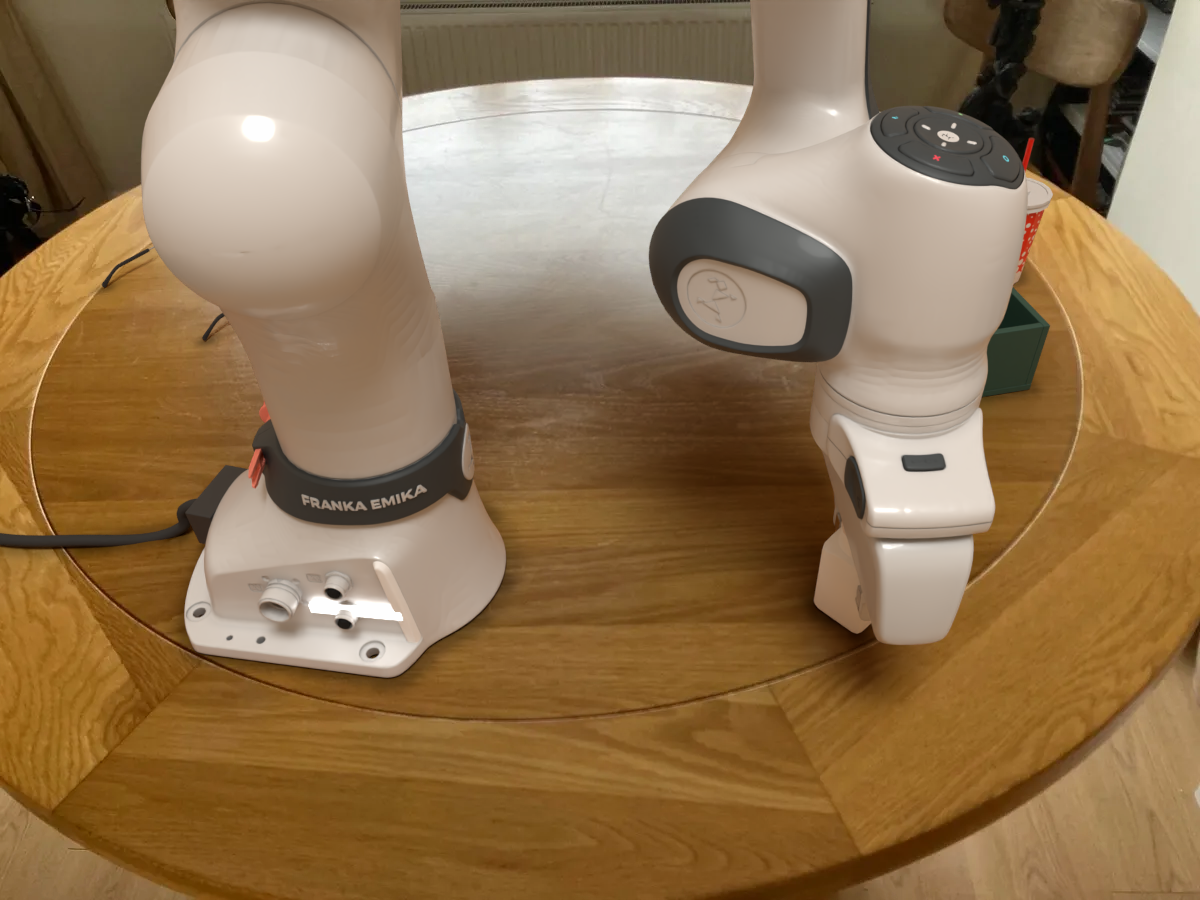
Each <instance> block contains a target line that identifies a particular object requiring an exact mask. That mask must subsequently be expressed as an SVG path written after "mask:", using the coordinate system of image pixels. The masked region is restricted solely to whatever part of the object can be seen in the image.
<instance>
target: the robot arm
mask: <svg viewBox="0 0 1200 900" xmlns="http://www.w3.org/2000/svg"><path fill="white" fill-rule="evenodd" d="M172 3H173V8H174V15H175V25H176V26H175V27H176V28H175V29H176V32H175V34H176V35H175V47H174V58H173V62H172V66H171V68H170V70H169V72H168V74H167V76H166V78H165V80H164V82H163V84H162V85H161V88H160V90H159V92H158V94H157V96H156V97H155V100H153V101H154V102H153V103H152V105H151V107H150V109H149V111H148V115H147V117H146V120H145V123H144V127H143V132H142V137H141V138H142V139H141V153H140V154H141V155H140V185H141V187H140V188H141V201H142V214H143V221H144V224H145V228H146V231H147V233H148V237H149V240H150V242H151V244H152V247H154V248H153V249H154V250H155V252H156V253H157V255H158V256H159V258H160V259H161V261H162V262H163V264H164V265H165V266H166V268H168V270H170V272H171V273H172V275H173V276H174V277H176V279H178V281H179V282H181V283H182V284H183V285H184V286H185V287H186V288H188V289H189V290H190V291H191V292H193V293H194V294H195V295H197V296H198V297H200V298H202V299H203V300H205V301H207V302H209V303H210V304H213V305H214V306H216V307H218V308H219V310H220V311H221V313H223V314H224V315H225V316H224V317H225V319H226V320H227V322H228V323H229V325H230V326H231V328H232V329H233V331H234V333H235V334H236V336H237V338H238V340H239V341H240V343H241V345H242V347H243V349H244V351H245V354H246V356H247V359H248V361H249V363H250V366H251V369H252V372H253V375H254V378H255V380H256V382H257V385H258V388H259V391H260V394H261V396H262V399H263V404H262V406H261V407H260V408H259V411H258V416H259V418H260V420H261V421H262V422H263V424H262V425H261V426H260V427H259V428H258V429H257V430H256V433H255V436H254V437H253V441H252V445H251V446H252V449H253V454H252V457H251V460H250V462H249V466H248V468H245V467H240V466H234V465H228V464H225V465H223V467H222V468H221V470H220V471H218V473H217V474H216V476H215V477H213V479H212V480H211V481H210V483H209V484H208V485H207V486H206V487H205V488H204V489H203V491H202V492H201V493H200V494H199V496H198V497H196V498H192V499H191V498H190V499H188V500H186V501H184V502H182V503H181V504H180V505H178V507H177V510H176V518H177V522H176V523H175V524H173V525H171V526H169V527H167V528H163V529H160V530H156V531H152V532H151V531H150V532H143V533H131V534H56V535H55V534H48V535H47V534H45V535H44V534H39V535H37V534H35V535H34V534H14V533H13V534H12V533H5V532H4V533H3V532H0V546H5V547H19V548H65V547H66V548H67V547H69V548H71V547H121V546H122V547H123V546H131V545H136V544H142V543H146V542H147V543H148V542H155V541H164V540H168V539H173V538H177V537H179V536H180V535H182V534H184V533H186V532H187V531H189V529H190V528H191V529H192V531H193V533H194V535H195V537H196V539H197V541H198V543H200V544H201V545H202V544H203V545H205V546H204V548H203V549H202V551H201V553H200V556H199V558H198V560H197V562H196V564H195V566H194V569H193V572H192V574H191V577H190V581H189V583H188V584H189V585H188V588H187V591H186V597H185V601H184V603H185V604H184V610H183V612H184V613H183V614H184V616H183V617H184V626H185V631H186V633H187V637H188V639H189V642H190V645H191V647H192V649H193V651H195V652H196V653H199V654H203V655H210V656H216V657H224V658H231V659H232V658H233V659H239V660H246V661H254V662H263V663H269V664H277V665H284V666H292V667H299V668H307V669H308V668H309V669H314V670H322V671H329V672H330V671H331V672H339V673H347V674H354V675H361V676H367V677H368V676H369V677H375V678H376V677H377V678H383V679H387V678H388V679H389V678H390V679H391V678H396V677H398V676H400V675H402V674H403V673H405V672H406V671H407V670H408V669H409V668H410V667H412V665H414V663H415V662H417V660H418V659H419V658H420V657H421V656H422V655H423V653H425V651H426V650H427V649H428V648H430V646H432V645H433V644H435V643H437V642H438V641H439V640H441V639H444V638H445V637H447V636H449V635H451V634H453V633H454V632H456V631H458V630H459V629H461V628H463V627H464V626H465V625H467V624H469V623H470V622H471V621H472V620H474V619H475V618H476V617H477V616H478V615H479V614H480V613H482V612H483V610H484V609H485V608H486V607H487V606H488V605H489V604H490V602H491V601H492V599H493V598H494V597H495V595H496V594H497V592H498V590H499V588H500V586H501V584H502V581H503V579H504V576H505V572H506V566H507V551H506V544H505V542H504V539H503V537H502V535H501V533H500V531H499V529H498V528H497V527H496V525H495V524H494V522H493V520H492V519H491V517H490V516H489V514H488V512H487V510H486V508H485V505H484V503H483V500H482V498H481V496H480V493H479V491H478V488H477V485H476V483H475V479H474V475H475V457H474V450H473V443H472V437H471V432H470V426H469V423H468V422H467V420H466V416H465V411H464V408H463V404H462V400H461V398H460V396H459V394H458V393H457V391H456V390H455V388H453V384H452V379H451V372H450V367H449V361H448V357H447V351H446V346H445V345H446V344H445V340H444V339H445V338H444V335H443V330H442V323H441V319H440V314H439V308H438V307H439V306H438V302H437V297H436V294H435V292H434V290H433V288H432V285H431V282H430V279H429V275H428V272H427V268H426V265H425V261H424V257H423V253H422V250H421V249H422V248H421V246H420V245H421V244H420V242H419V237H418V233H417V229H416V224H415V220H414V216H413V210H412V207H411V203H410V196H409V191H408V183H407V176H406V175H407V174H406V165H405V153H404V151H405V150H404V137H403V52H402V51H403V50H402V49H403V48H402V21H401V20H402V19H401V0H172ZM749 7H750V26H751V43H752V45H751V46H752V61H753V62H752V63H753V83H752V84H753V85H752V90H751V94H750V97H749V101H748V104H747V106H746V109H745V112H744V114H743V116H742V118H741V120H740V122H739V124H738V126H737V127H736V130H735V131H734V133H733V134H732V136H731V138H730V139H729V142H728V143H727V144H726V145H725V146H724V147H723V148H722V149H721V150H720V152H719V153H718V154H717V155H716V156H715V158H713V160H712V161H711V162H710V163H709V164H707V166H706V167H705V168H704V169H703V170H702V171H700V173H699V174H698V175H697V176H696V177H695V178H694V179H693V180H692V181H691V183H689V185H688V186H687V187H686V188H685V189H684V191H683V192H682V193H681V194H680V195H679V197H678V198H676V199H675V201H674V202H673V203H672V204H671V205H670V207H669V208H668V209H667V211H666V213H664V215H662V216H661V218H660V219H659V221H658V222H657V224H656V226H655V228H654V230H653V232H652V234H651V237H650V242H649V246H648V247H649V248H648V268H649V274H650V277H651V281H652V285H653V287H654V290H655V293H656V295H657V297H658V299H659V302H660V304H661V306H662V307H663V308H664V310H665V311H666V314H668V316H669V317H670V318H671V319H672V321H673V322H674V323H675V324H676V325H677V326H678V327H679V328H680V329H681V330H682V331H683V332H684V333H686V334H687V335H688V336H689V337H691V338H693V339H695V340H696V341H697V342H699V343H701V344H702V345H705V346H707V347H710V348H712V349H714V350H715V349H716V350H718V351H722V352H725V353H726V352H727V353H731V354H734V355H735V354H736V355H742V356H747V357H754V358H762V359H767V360H775V361H782V362H793V363H816V369H815V374H814V375H815V376H814V384H813V391H812V397H811V398H812V399H811V407H810V413H809V429H810V433H811V436H812V438H813V441H814V442H815V444H816V445H817V447H818V448H819V449H820V450H821V452H822V456H823V459H824V463H825V466H826V470H827V473H828V476H829V481H830V485H831V487H832V491H833V496H834V497H833V499H834V512H833V519H832V522H833V526H834V529H835V532H836V531H837V530H838V529H839V528H841V522H842V523H843V526H844V530H845V533H846V536H847V540H848V543H849V547H850V550H851V554H852V557H853V561H854V564H855V568H856V571H857V575H858V578H859V582H860V585H858V587H857V596H856V597H855V601H856V605H857V609H858V613H859V617H860V619H861V620H863V621H871V624H870V625H871V627H872V631H873V635H874V638H875V639H876V640H877V641H878V642H879V643H882V644H884V645H885V644H886V645H890V646H891V645H893V646H917V645H927V644H934V643H937V642H940V641H942V640H943V639H944V638H946V637H947V636H948V634H949V632H950V630H951V629H952V626H953V625H954V624H953V623H954V622H955V619H956V616H957V614H958V612H959V609H960V607H961V606H960V605H961V603H962V600H963V597H964V595H965V592H966V588H967V585H968V582H969V579H970V575H971V571H972V568H973V563H974V562H973V561H974V553H975V546H974V543H975V542H974V535H975V534H982V533H987V532H989V530H990V528H991V527H992V524H993V522H994V518H995V513H996V500H995V496H994V491H993V487H992V483H991V478H990V475H989V469H988V463H987V458H986V455H985V449H984V436H983V435H984V434H983V433H984V432H983V429H984V427H983V426H984V416H983V415H984V414H983V410H982V408H981V407H980V404H981V401H982V398H983V397H982V394H983V390H984V387H985V384H986V380H987V374H988V360H987V346H988V344H989V341H990V339H991V337H992V336H993V334H994V333H995V331H996V330H997V329H998V327H999V326H1000V324H1001V322H1002V320H1003V318H1004V315H1005V313H1006V310H1007V306H1008V303H1009V299H1010V295H1011V292H1012V288H1013V287H1014V284H1015V283H1014V280H1015V276H1016V272H1017V268H1018V263H1019V258H1020V253H1021V248H1022V243H1023V237H1024V231H1025V224H1026V216H1027V205H1028V189H1027V179H1026V178H1027V174H1026V172H1025V170H1024V166H1023V164H1022V163H1023V160H1022V159H1021V157H1020V156H1019V153H1017V150H1016V149H1015V148H1014V147H1013V146H1012V145H1011V144H1010V142H1009V141H1008V140H1007V139H1006V138H1004V136H1002V135H1001V134H999V133H998V132H997V131H995V129H993V128H992V127H991V126H989V125H988V124H986V123H984V122H983V121H981V120H979V119H977V118H975V117H973V116H970V115H967V114H965V113H962V112H958V111H957V110H952V109H947V108H944V107H938V106H933V105H932V106H931V105H924V106H923V105H901V106H895V107H890V108H887V109H885V110H883V111H880V109H879V107H878V104H877V99H876V97H875V93H874V87H873V83H872V76H871V59H870V57H871V56H870V55H871V54H870V53H871V52H870V51H871V28H872V27H871V25H872V0H749ZM374 655H377V656H376V657H373V658H372V656H374Z"/></svg>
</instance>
